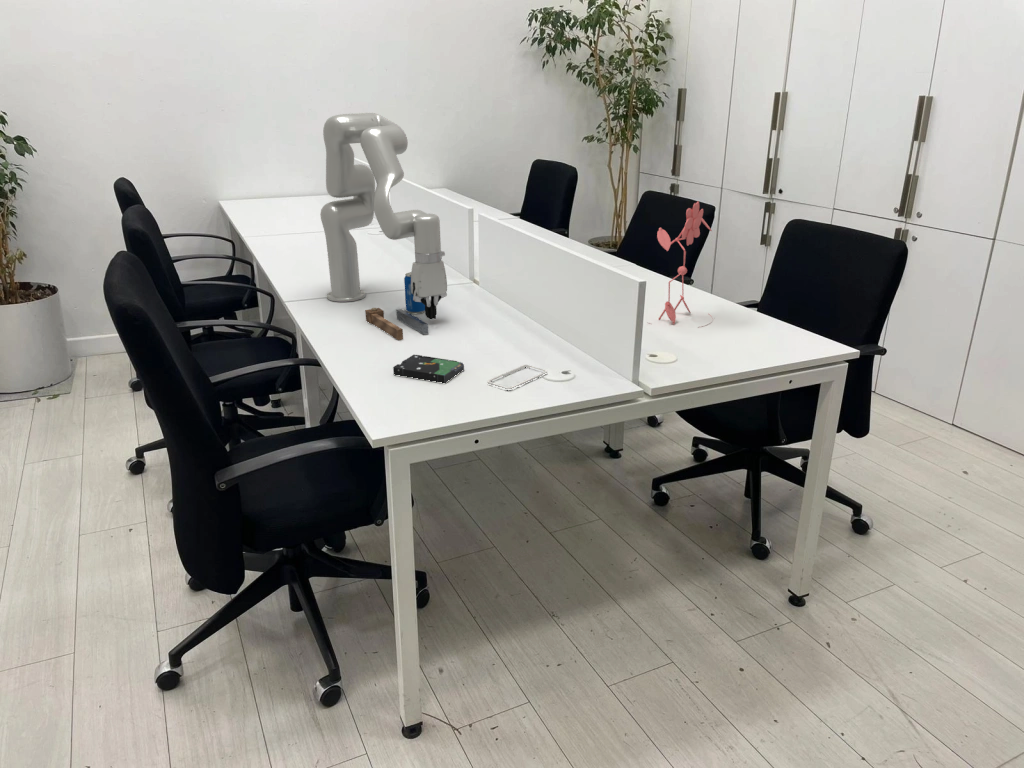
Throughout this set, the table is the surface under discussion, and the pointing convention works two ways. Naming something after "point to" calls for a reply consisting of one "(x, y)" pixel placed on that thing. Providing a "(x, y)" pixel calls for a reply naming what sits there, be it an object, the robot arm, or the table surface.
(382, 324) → the brown bar with block
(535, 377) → the phone case
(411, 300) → the beverage can
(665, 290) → the table surface
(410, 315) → the long gray metal bar
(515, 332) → the table surface
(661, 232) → the figurine
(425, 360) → the disk drive
